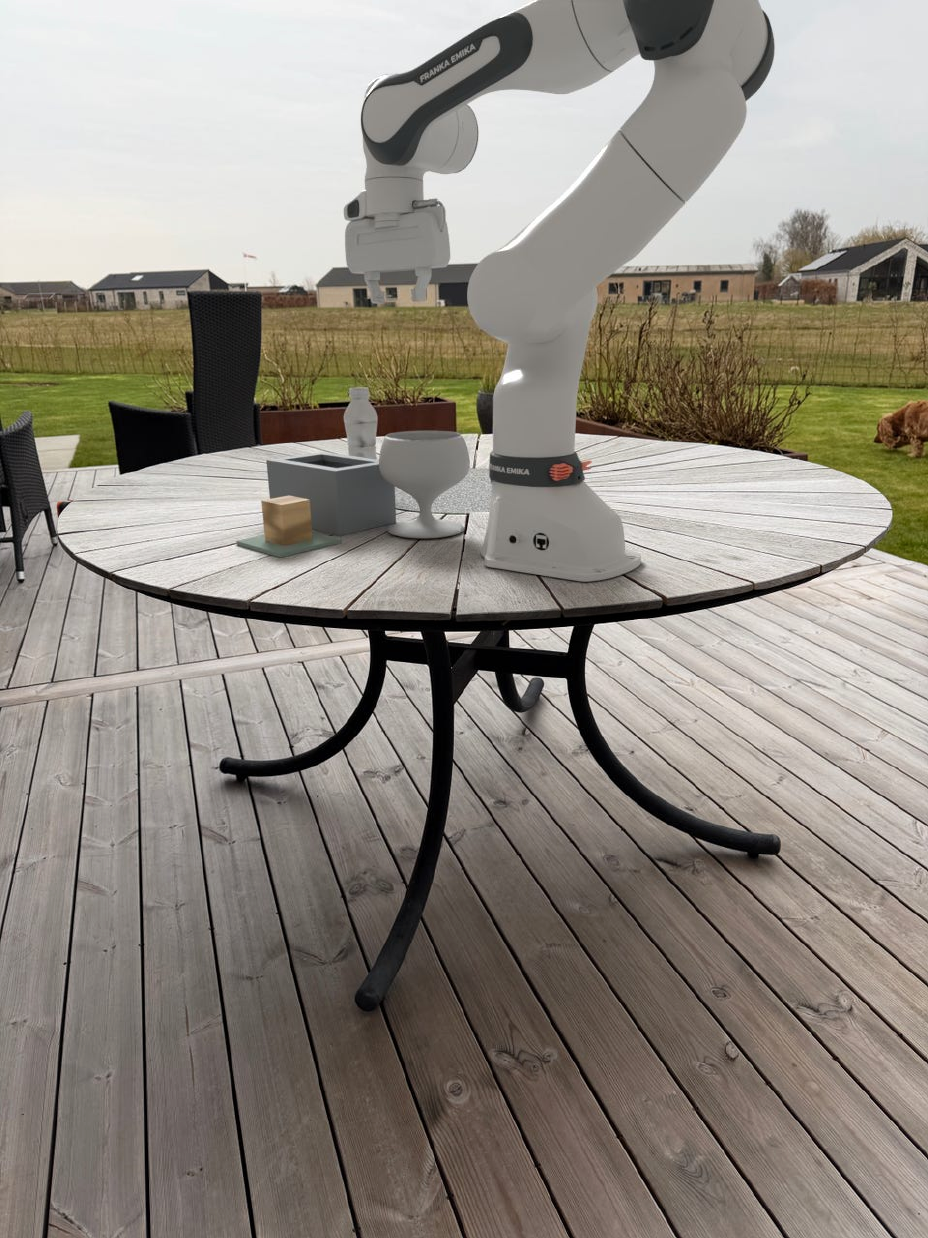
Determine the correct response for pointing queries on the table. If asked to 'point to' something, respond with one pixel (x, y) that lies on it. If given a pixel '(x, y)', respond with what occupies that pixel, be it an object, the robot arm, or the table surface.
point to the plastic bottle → (361, 424)
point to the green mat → (282, 551)
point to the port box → (335, 490)
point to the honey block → (287, 520)
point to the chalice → (424, 475)
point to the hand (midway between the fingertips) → (397, 302)
